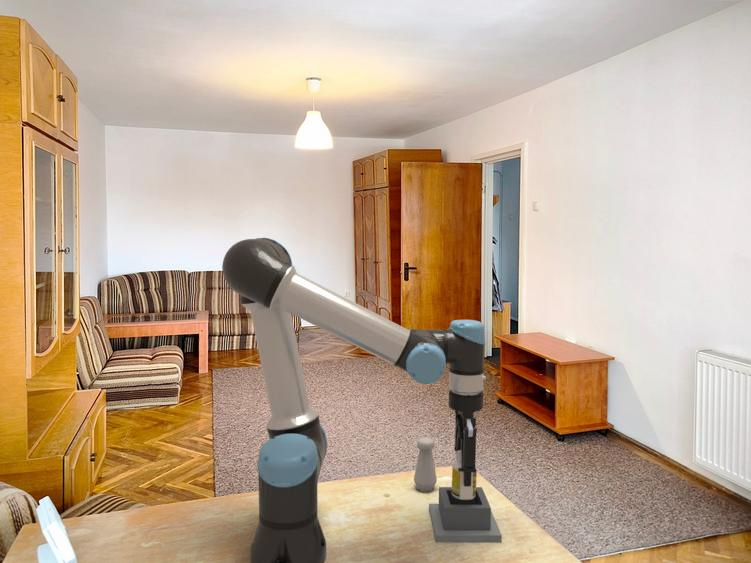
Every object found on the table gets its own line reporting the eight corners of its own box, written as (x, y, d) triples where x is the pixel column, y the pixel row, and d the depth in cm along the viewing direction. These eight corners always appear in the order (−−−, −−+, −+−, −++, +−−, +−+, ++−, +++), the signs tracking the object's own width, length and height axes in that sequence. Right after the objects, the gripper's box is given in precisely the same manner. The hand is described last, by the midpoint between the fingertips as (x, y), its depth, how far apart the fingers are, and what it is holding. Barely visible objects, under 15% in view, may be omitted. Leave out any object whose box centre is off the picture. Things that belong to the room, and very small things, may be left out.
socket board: (435, 542, 120) (436, 512, 119) (428, 509, 134) (429, 483, 133) (501, 542, 120) (502, 512, 119) (487, 509, 134) (488, 483, 133)
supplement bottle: (475, 502, 123) (476, 458, 122) (450, 499, 124) (451, 456, 123) (476, 490, 128) (477, 449, 128) (452, 488, 130) (453, 447, 129)
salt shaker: (440, 486, 146) (441, 438, 145) (430, 495, 141) (431, 445, 140) (420, 481, 149) (420, 433, 148) (409, 489, 144) (410, 440, 143)
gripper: (492, 403, 115) (489, 512, 117) (475, 379, 133) (472, 474, 135) (455, 403, 115) (453, 512, 117) (443, 379, 133) (441, 474, 135)
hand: (463, 491), depth 126 cm, fingers closed on supplement bottle, 5 cm apart
